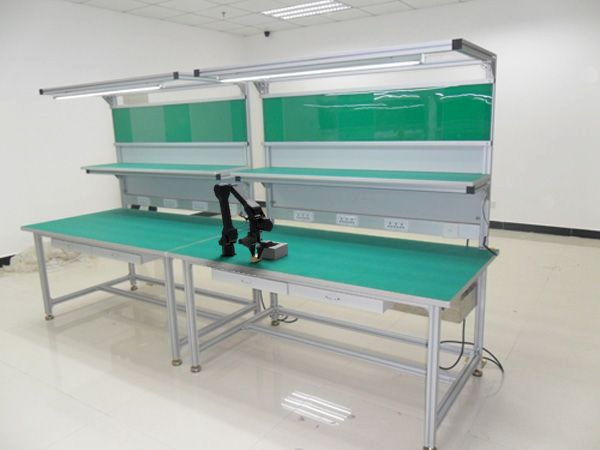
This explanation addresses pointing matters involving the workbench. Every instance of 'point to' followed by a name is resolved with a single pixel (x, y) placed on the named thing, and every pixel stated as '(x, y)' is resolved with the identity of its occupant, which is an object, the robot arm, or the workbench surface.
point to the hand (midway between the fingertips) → (256, 258)
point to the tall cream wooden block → (255, 258)
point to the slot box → (275, 251)
